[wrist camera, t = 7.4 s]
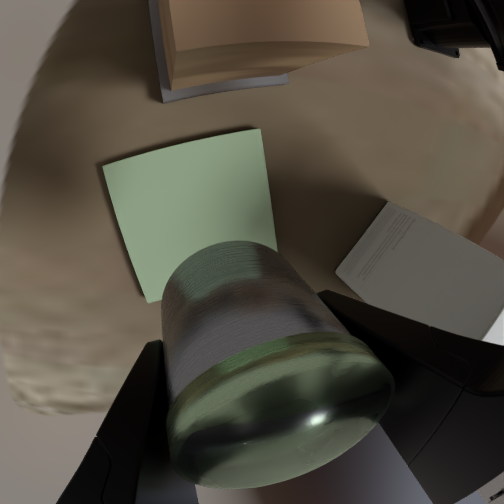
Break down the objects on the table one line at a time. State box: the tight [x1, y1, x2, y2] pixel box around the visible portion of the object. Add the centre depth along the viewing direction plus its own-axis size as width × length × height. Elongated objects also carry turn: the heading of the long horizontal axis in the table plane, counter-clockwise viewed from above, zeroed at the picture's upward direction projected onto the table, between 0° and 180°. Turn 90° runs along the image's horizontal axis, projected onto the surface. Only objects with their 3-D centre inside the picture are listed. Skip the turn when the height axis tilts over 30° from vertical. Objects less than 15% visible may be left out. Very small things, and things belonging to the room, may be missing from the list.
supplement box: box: [335, 201, 504, 345], centre depth 17 cm, size 7×7×13 cm
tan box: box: [148, 0, 370, 103], centre depth 9 cm, size 7×8×9 cm
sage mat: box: [102, 129, 278, 303], centre depth 17 cm, size 9×9×1 cm
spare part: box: [161, 240, 395, 489], centre depth 7 cm, size 5×5×5 cm
